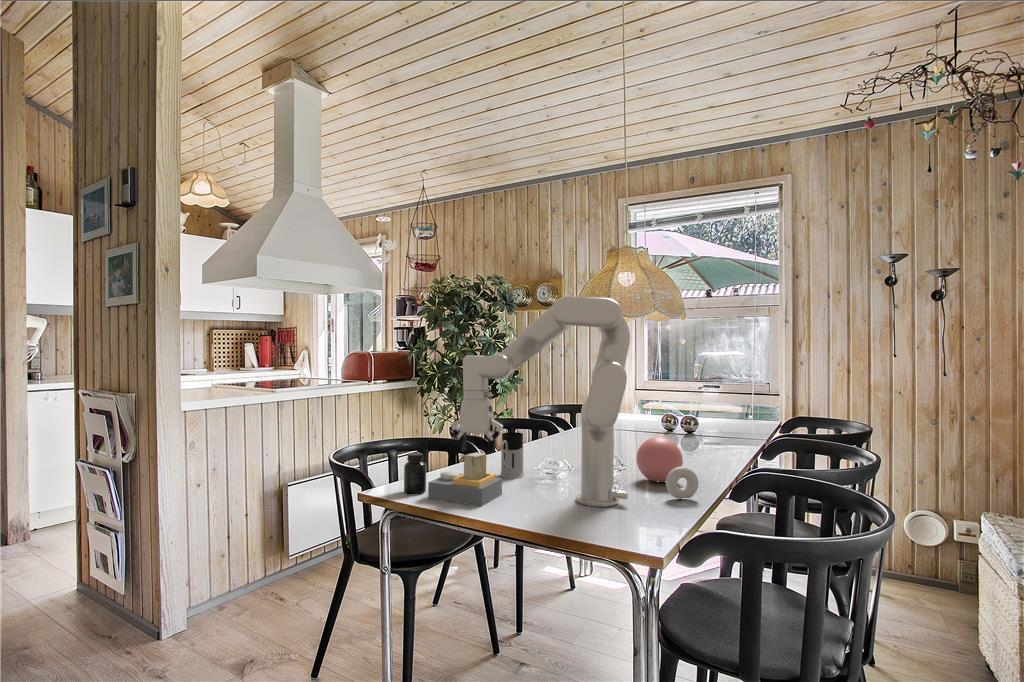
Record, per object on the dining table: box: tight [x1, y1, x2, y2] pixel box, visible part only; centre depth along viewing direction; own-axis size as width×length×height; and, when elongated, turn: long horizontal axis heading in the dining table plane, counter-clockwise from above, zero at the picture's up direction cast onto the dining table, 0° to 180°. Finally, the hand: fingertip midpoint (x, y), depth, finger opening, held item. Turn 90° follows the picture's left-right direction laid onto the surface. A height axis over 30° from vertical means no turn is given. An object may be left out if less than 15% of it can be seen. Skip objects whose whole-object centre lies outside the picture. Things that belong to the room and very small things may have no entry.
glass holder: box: [499, 431, 525, 479], centre depth 192 cm, size 9×14×15 cm, turn 159°
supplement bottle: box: [403, 452, 427, 495], centre depth 171 cm, size 7×7×12 cm
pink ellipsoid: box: [636, 436, 684, 483], centre depth 189 cm, size 15×20×15 cm
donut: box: [665, 466, 699, 499], centre depth 165 cm, size 10×4×10 cm, turn 94°
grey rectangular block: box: [427, 471, 503, 507], centre depth 166 cm, size 18×14×6 cm
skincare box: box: [463, 452, 487, 481], centre depth 165 cm, size 6×4×12 cm
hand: (477, 452), depth 165 cm, fingers open, 9 cm apart
